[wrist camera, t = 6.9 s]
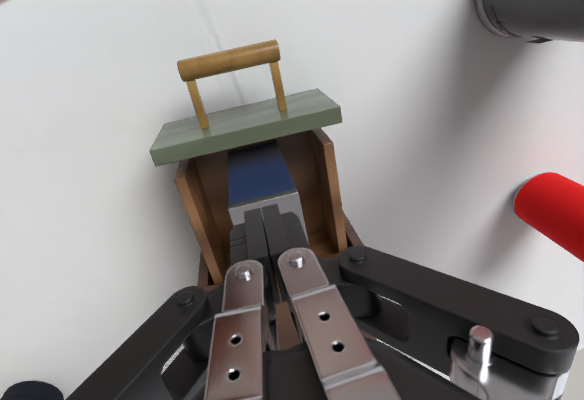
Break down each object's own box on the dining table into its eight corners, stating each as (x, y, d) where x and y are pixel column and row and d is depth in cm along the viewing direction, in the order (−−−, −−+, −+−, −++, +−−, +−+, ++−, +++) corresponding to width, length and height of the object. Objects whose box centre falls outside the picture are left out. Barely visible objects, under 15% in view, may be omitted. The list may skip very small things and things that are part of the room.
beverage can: (497, 208, 42) (588, 273, 32) (530, 161, 40) (639, 214, 29) (534, 221, 44) (632, 286, 34) (567, 177, 42) (683, 231, 31)
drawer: (141, 63, 28) (119, 77, 22) (309, 27, 29) (331, 30, 23) (213, 257, 37) (211, 304, 31) (338, 225, 38) (359, 265, 32)
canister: (226, 152, 31) (228, 209, 22) (276, 140, 32) (298, 192, 22) (239, 196, 34) (245, 265, 24) (286, 184, 34) (309, 248, 25)
